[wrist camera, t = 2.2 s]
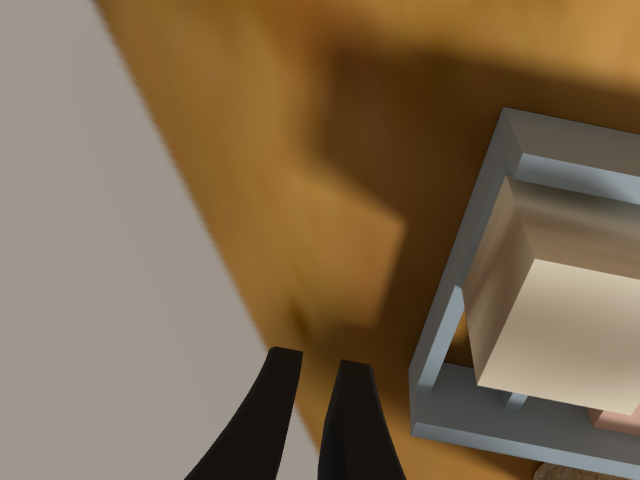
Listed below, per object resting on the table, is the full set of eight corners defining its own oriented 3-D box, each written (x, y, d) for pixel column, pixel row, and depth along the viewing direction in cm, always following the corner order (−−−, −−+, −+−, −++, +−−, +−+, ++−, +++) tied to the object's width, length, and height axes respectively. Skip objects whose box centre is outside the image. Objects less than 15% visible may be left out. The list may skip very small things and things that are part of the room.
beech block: (588, 314, 21) (630, 415, 18) (461, 288, 21) (476, 385, 17) (649, 204, 19) (713, 295, 15) (505, 175, 19) (534, 258, 15)
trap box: (703, 427, 26) (742, 500, 24) (408, 369, 26) (410, 435, 23) (895, 187, 20) (982, 247, 17) (502, 106, 20) (523, 152, 17)
